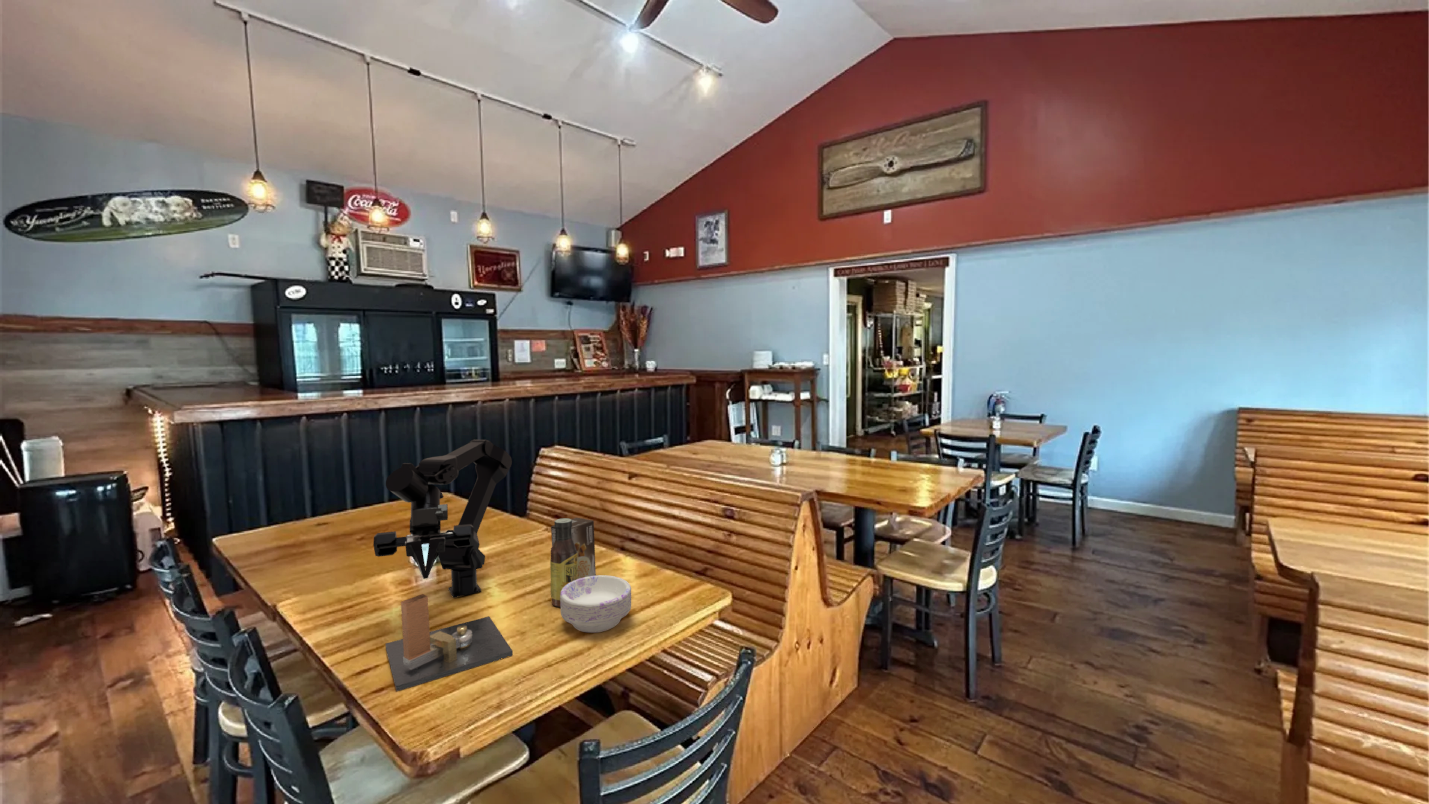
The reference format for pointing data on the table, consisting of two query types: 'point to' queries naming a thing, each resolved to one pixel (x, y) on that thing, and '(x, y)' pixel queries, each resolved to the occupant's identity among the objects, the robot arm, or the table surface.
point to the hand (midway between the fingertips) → (425, 577)
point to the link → (422, 633)
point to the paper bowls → (595, 602)
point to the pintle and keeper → (448, 643)
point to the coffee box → (582, 545)
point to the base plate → (479, 652)
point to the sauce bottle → (562, 559)
